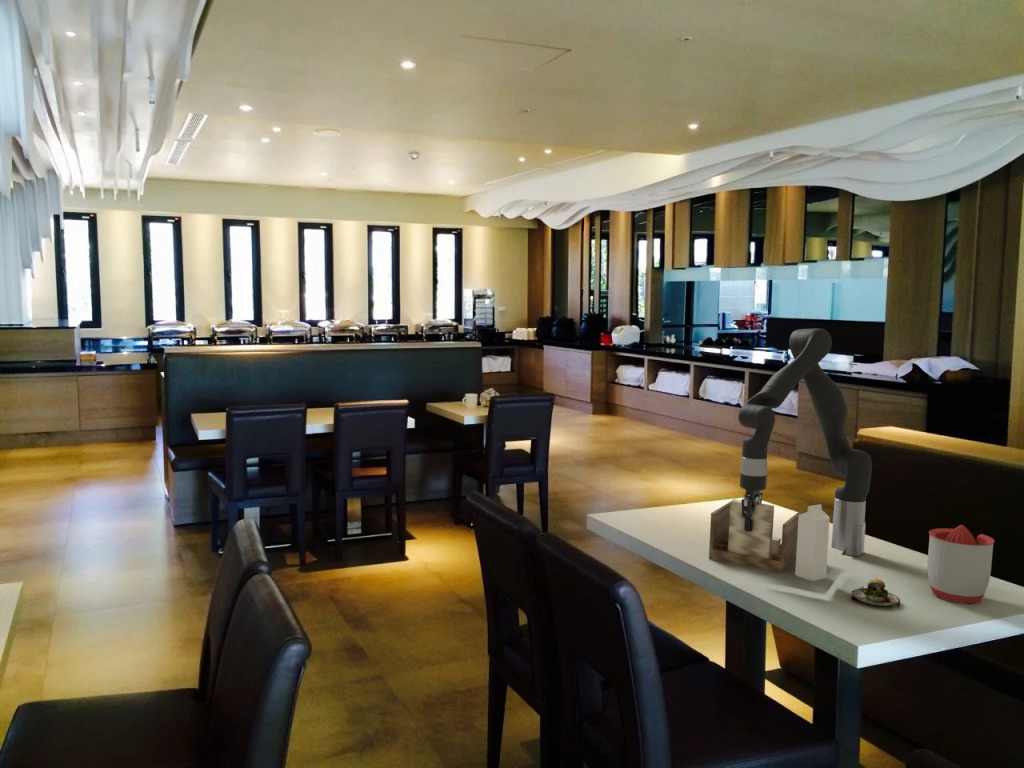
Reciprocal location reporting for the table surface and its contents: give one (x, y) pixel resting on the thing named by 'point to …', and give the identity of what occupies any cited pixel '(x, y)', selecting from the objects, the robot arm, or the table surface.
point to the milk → (812, 544)
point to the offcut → (776, 545)
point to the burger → (875, 594)
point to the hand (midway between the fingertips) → (750, 529)
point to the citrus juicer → (959, 564)
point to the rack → (720, 553)
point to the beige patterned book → (760, 535)
